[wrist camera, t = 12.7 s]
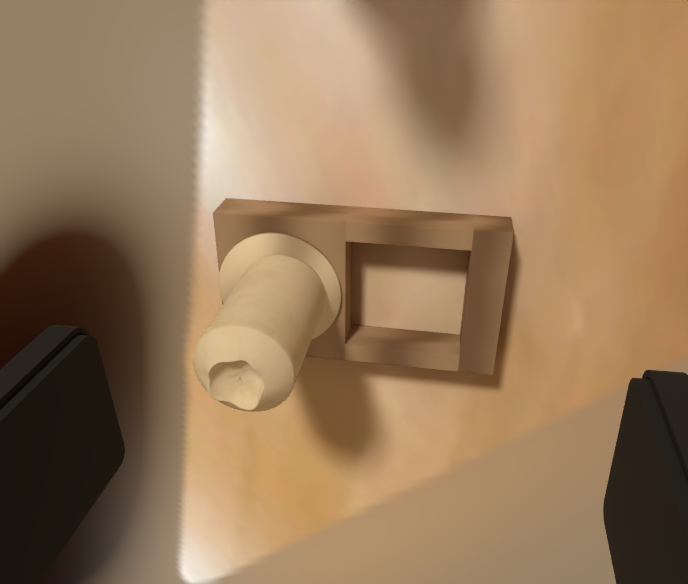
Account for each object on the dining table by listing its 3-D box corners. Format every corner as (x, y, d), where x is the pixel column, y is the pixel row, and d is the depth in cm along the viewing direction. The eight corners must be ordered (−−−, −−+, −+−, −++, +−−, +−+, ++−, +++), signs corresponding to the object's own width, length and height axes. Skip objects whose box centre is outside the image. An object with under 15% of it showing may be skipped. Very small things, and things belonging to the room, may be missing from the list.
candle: (341, 311, 41) (308, 412, 32) (270, 339, 43) (220, 441, 34) (298, 239, 39) (250, 326, 30) (225, 272, 41) (161, 362, 32)
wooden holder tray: (510, 217, 39) (513, 236, 36) (491, 353, 44) (493, 377, 41) (226, 198, 41) (211, 214, 39) (238, 328, 46) (225, 350, 44)
